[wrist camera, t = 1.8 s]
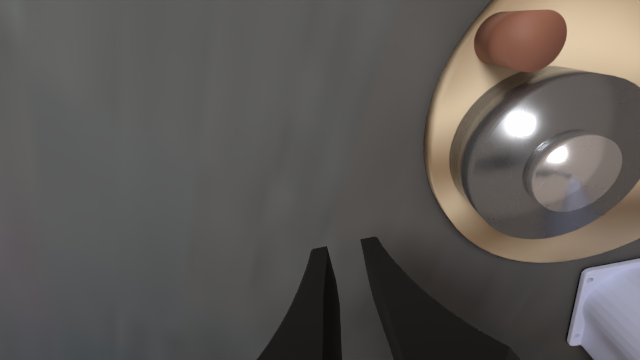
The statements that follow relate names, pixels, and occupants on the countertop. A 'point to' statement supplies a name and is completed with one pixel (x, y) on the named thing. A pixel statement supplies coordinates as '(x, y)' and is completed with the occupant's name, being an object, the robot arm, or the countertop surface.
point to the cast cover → (548, 150)
